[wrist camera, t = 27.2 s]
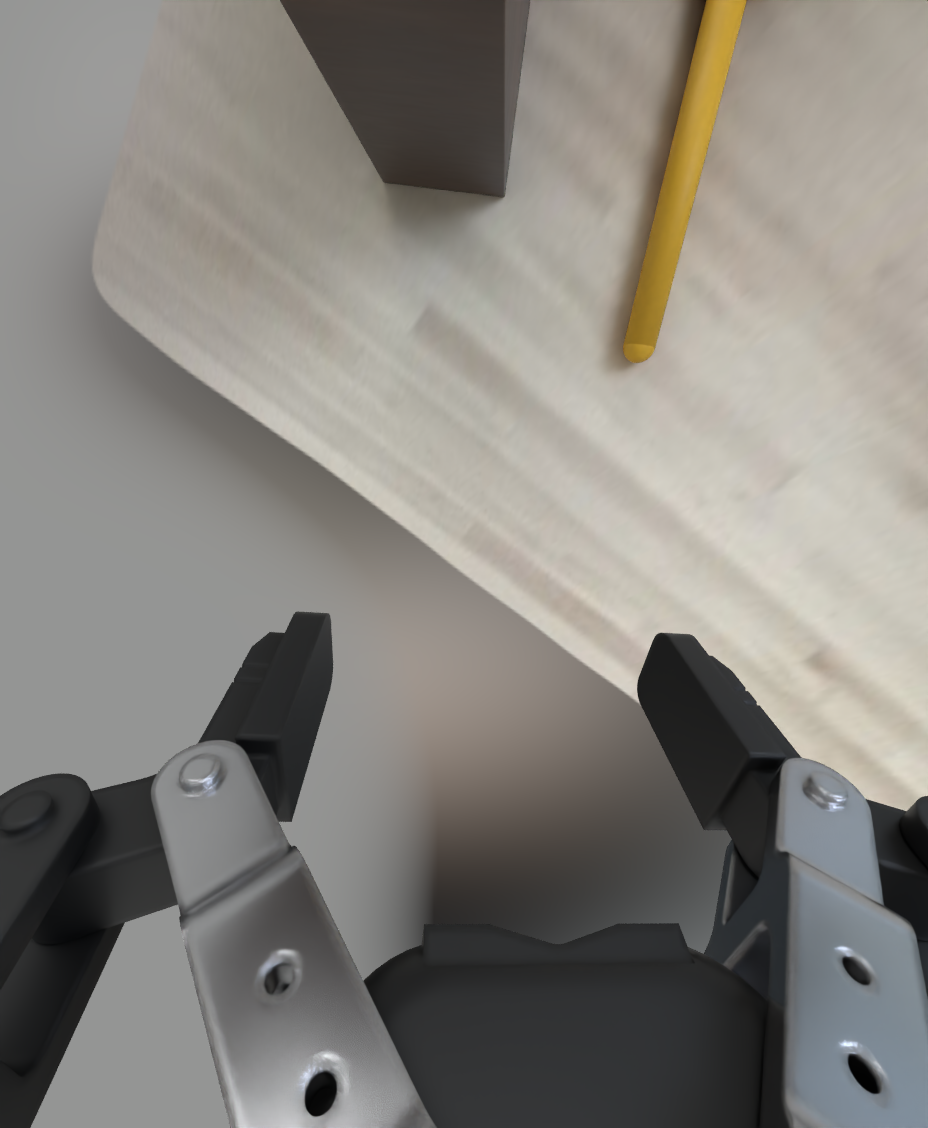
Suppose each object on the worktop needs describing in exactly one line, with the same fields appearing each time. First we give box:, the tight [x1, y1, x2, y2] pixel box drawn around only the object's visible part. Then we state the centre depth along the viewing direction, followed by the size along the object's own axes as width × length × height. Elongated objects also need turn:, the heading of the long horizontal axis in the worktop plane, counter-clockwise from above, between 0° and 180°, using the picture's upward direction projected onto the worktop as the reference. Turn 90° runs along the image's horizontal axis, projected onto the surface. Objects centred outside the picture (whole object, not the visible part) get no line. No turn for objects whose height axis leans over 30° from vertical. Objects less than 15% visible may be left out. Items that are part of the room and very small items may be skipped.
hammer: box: [623, 0, 747, 363], centre depth 23 cm, size 23×4×2 cm, turn 172°
